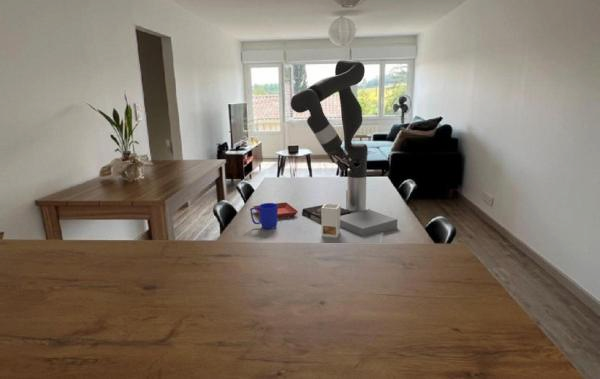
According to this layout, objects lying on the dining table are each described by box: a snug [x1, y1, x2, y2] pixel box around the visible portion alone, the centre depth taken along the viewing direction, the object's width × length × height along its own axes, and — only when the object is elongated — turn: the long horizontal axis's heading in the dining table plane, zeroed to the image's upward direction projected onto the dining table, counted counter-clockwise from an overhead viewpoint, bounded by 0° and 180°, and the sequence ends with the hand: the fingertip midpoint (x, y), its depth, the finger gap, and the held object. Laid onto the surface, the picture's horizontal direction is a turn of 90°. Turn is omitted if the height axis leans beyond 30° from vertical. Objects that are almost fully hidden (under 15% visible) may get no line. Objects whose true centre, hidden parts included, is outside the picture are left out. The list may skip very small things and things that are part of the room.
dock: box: [340, 209, 398, 237], centre depth 163 cm, size 18×20×4 cm
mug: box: [249, 202, 278, 230], centre depth 165 cm, size 8×12×10 cm
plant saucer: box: [252, 202, 299, 220], centre depth 184 cm, size 18×18×3 cm
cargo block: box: [325, 226, 336, 235], centre depth 153 cm, size 4×4×4 cm
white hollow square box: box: [321, 203, 341, 239], centre depth 152 cm, size 6×6×13 cm
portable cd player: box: [301, 204, 352, 224], centre depth 177 cm, size 16×17×4 cm
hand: (349, 171), depth 147 cm, fingers open, 8 cm apart
